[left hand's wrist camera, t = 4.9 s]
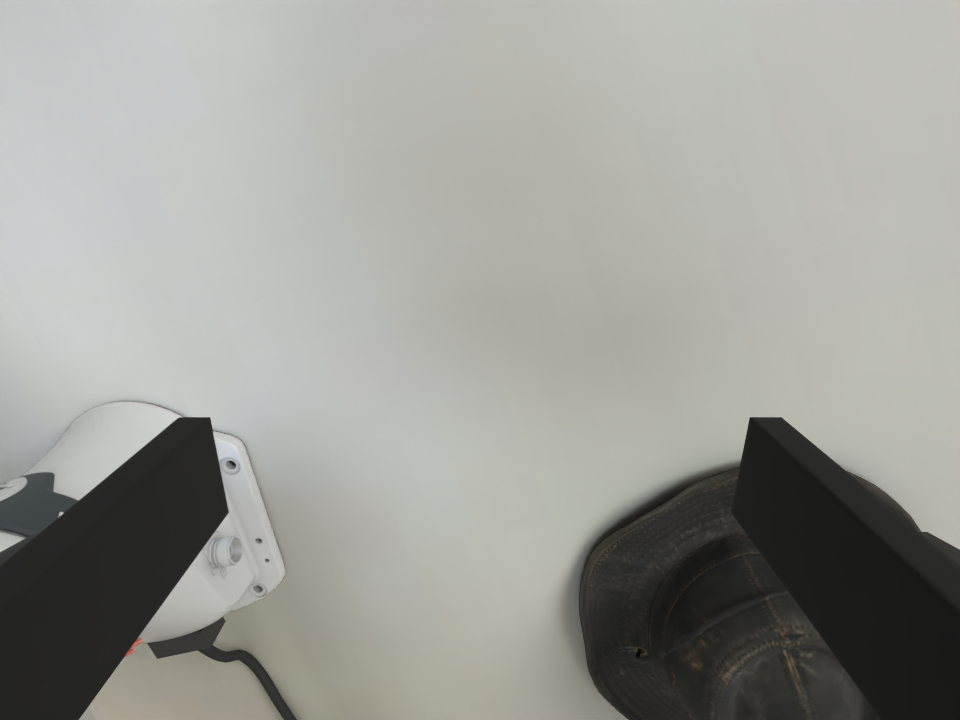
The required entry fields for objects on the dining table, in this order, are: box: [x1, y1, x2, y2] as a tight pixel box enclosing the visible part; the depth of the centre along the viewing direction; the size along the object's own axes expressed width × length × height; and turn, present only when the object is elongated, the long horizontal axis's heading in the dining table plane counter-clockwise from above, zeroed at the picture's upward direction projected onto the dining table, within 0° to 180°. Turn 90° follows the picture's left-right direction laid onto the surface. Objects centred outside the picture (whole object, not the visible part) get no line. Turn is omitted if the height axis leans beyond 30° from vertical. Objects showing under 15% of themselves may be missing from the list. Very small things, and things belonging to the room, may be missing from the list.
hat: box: [579, 467, 921, 720], centre depth 44 cm, size 32×35×14 cm
